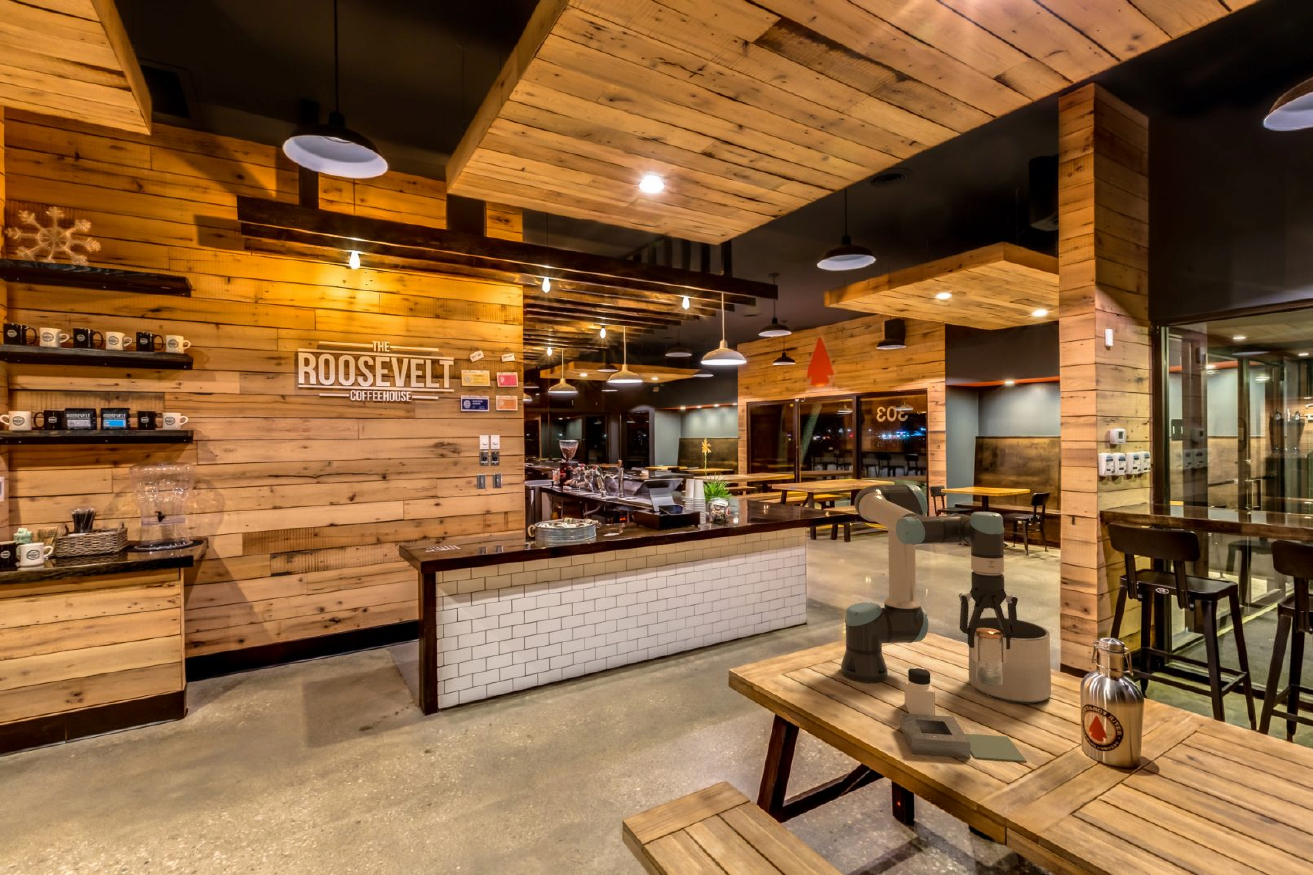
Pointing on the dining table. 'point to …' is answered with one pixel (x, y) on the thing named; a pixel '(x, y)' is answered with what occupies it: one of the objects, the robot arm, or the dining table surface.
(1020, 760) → the mat
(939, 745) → the housing
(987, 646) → the glass jar
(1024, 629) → the planter
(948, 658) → the dining table surface
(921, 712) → the medicine bottle
